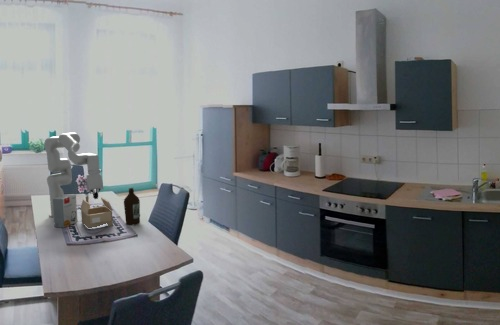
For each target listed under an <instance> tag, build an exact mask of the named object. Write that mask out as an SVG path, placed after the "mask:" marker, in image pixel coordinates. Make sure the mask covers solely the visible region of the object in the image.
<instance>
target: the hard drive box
mask: <svg viewBox="0 0 500 325" xmlns="http://www.w3.org/2000/svg"><path fill="white" fill-rule="evenodd" d="M53 211H54V217H53V222H54V225H53V226H54V228H66V227H69V226H71V225H73V224H76V223H77V222H78V208H77V195H76V194H73V193H72V194H69V193H67V194H64V195H63V196H60V197H57V198H54V199H53Z"/></svg>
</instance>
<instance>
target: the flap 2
mask: <svg viewBox="0 0 500 325" xmlns="http://www.w3.org/2000/svg"><path fill="white" fill-rule="evenodd" d="M100 200H101V201H102V204H103V206H105V207H106V208H108V209H109V210H111V211H112V212H113V208H112V206H111V203H110V201H109V200H107V199H106V198H104V197H103V196H101V197H100Z"/></svg>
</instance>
